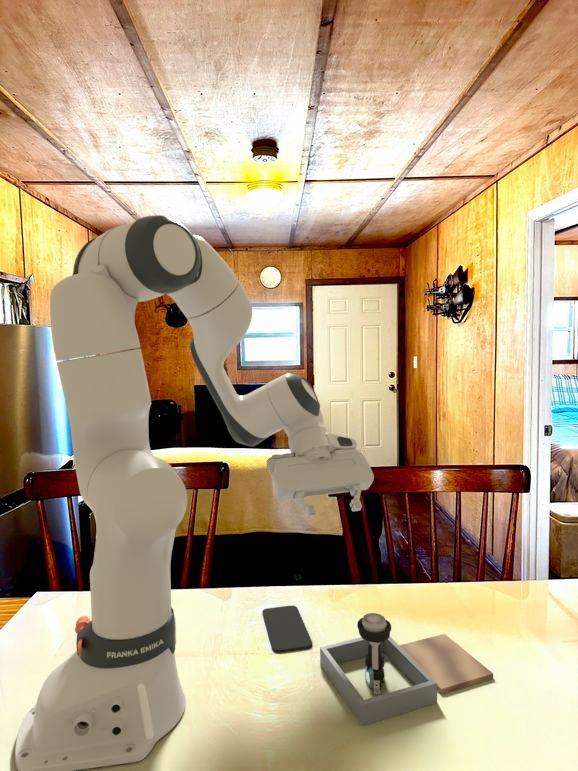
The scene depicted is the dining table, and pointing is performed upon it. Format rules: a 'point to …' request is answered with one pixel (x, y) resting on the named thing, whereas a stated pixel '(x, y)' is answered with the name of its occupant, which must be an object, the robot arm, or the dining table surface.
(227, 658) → the dining table surface
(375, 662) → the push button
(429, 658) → the walnut board
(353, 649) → the gray rectangular frame
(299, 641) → the phone
